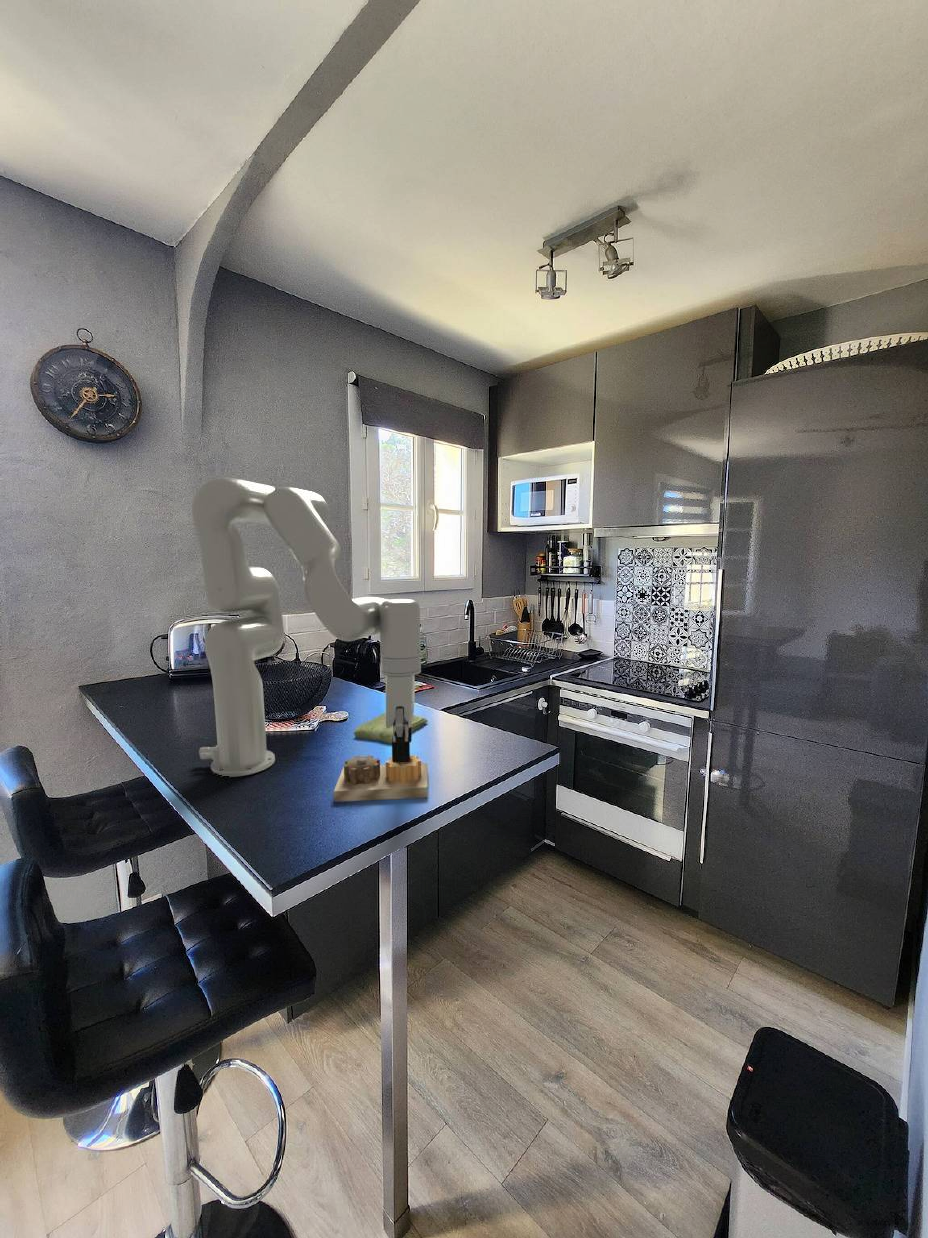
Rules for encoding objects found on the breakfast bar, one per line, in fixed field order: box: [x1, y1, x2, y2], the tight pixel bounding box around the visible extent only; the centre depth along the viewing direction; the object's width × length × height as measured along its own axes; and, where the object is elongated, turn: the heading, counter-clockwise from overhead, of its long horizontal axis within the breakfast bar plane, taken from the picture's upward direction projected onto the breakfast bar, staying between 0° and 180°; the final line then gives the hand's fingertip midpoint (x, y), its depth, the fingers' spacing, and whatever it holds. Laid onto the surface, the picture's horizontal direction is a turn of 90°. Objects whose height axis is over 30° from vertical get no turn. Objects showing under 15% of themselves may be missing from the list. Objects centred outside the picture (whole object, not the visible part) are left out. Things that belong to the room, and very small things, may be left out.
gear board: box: [333, 755, 429, 803], centre depth 97 cm, size 17×11×6 cm, turn 94°
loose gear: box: [385, 754, 422, 783], centre depth 97 cm, size 7×7×3 cm
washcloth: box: [353, 712, 429, 744], centre depth 130 cm, size 13×18×3 cm
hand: (402, 751), depth 97 cm, fingers open, 9 cm apart
